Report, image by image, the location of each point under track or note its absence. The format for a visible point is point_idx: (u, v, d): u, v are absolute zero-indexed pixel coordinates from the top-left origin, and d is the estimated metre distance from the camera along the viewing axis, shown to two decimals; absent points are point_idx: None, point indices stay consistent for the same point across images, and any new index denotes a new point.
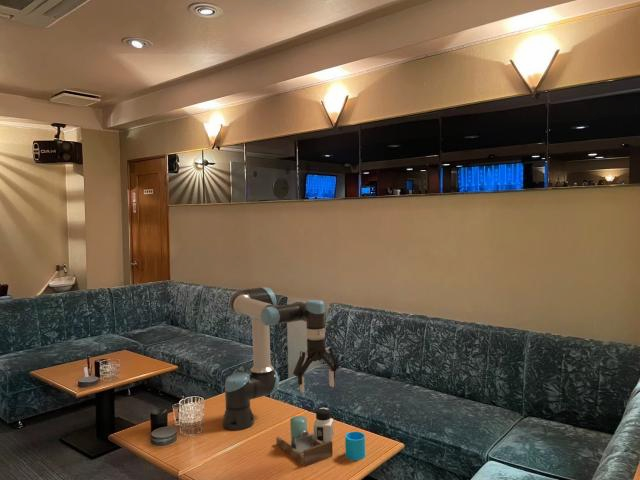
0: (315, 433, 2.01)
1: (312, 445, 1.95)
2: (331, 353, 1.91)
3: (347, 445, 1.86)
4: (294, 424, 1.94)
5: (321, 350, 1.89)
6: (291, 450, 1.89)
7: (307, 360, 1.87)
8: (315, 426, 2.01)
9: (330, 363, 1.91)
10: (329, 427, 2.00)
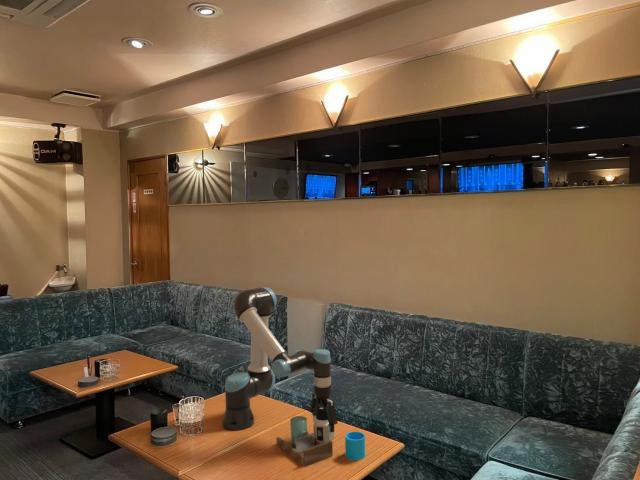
0: (315, 433, 2.01)
1: (312, 445, 1.95)
2: (329, 407, 1.98)
3: (347, 445, 1.86)
4: (294, 424, 1.94)
5: (323, 398, 2.02)
6: (291, 450, 1.89)
7: None
8: (315, 426, 2.01)
9: (327, 415, 1.99)
10: None
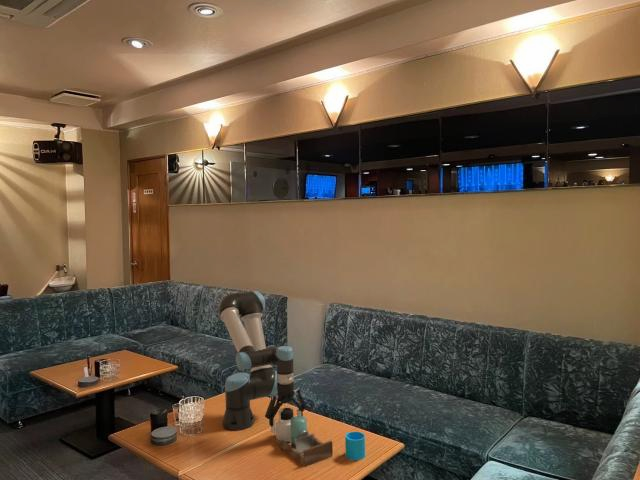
0: None
1: (312, 445, 1.95)
2: (299, 395, 2.08)
3: (347, 445, 1.86)
4: (294, 424, 1.94)
5: (290, 393, 2.05)
6: (291, 450, 1.89)
7: (277, 403, 2.03)
8: None
9: (298, 404, 2.08)
10: None
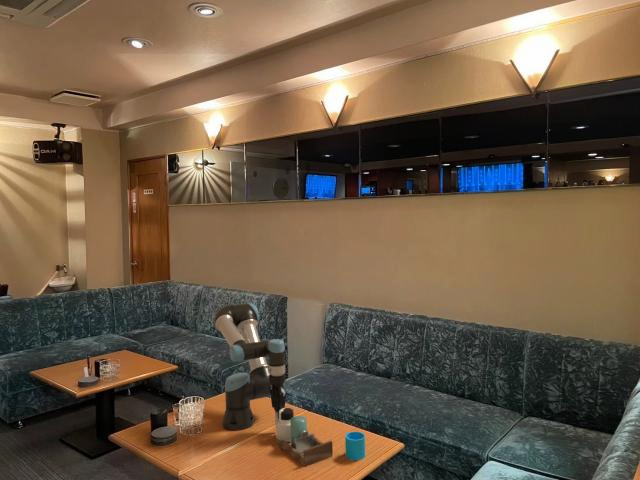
0: None
1: (312, 445, 1.95)
2: (280, 396, 2.07)
3: (347, 445, 1.86)
4: (294, 424, 1.94)
5: (277, 385, 2.09)
6: (291, 450, 1.89)
7: None
8: None
9: (277, 403, 2.09)
10: None
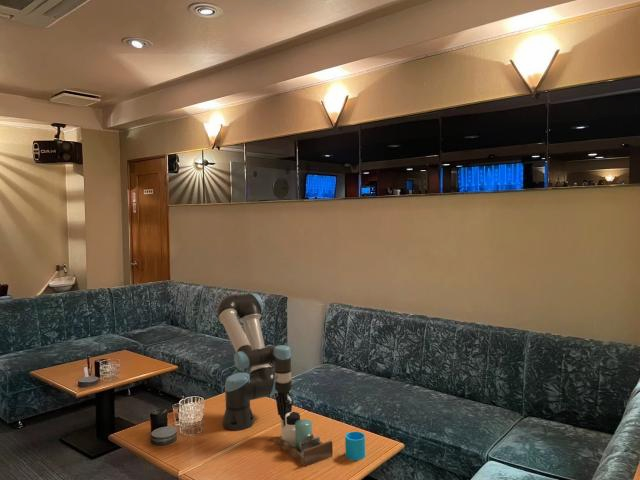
0: None
1: None
2: (286, 404, 2.03)
3: (347, 445, 1.86)
4: (300, 427, 1.90)
5: (284, 392, 2.04)
6: (291, 450, 1.89)
7: None
8: None
9: (283, 411, 2.05)
10: None
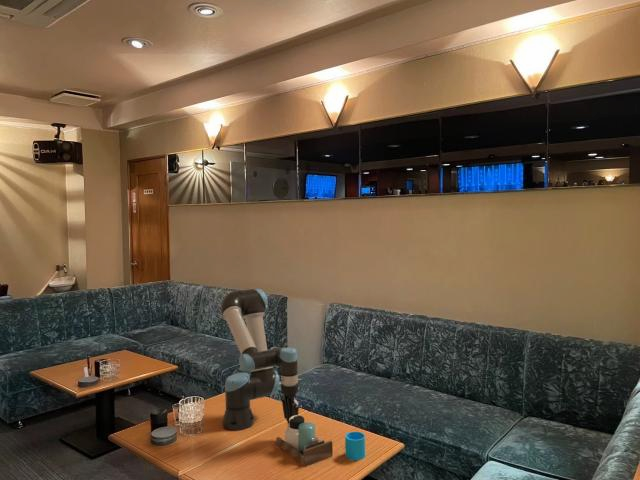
0: None
1: None
2: (293, 407, 1.99)
3: (347, 445, 1.86)
4: (306, 431, 1.86)
5: (290, 396, 2.00)
6: (291, 450, 1.89)
7: None
8: None
9: (290, 414, 2.01)
10: None
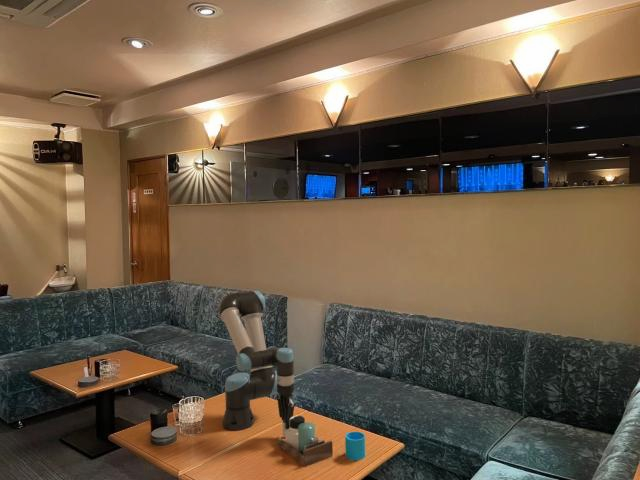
0: None
1: None
2: (288, 407, 2.01)
3: (347, 445, 1.86)
4: (305, 431, 1.87)
5: (286, 395, 2.03)
6: (291, 450, 1.89)
7: None
8: None
9: (285, 413, 2.04)
10: None
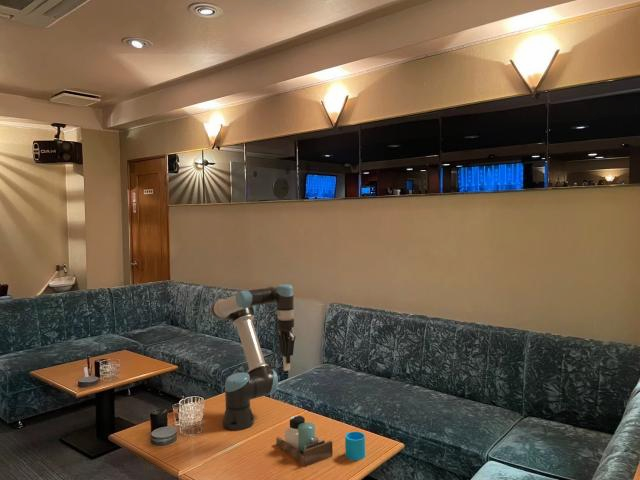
0: None
1: None
2: (289, 340, 2.05)
3: (347, 445, 1.86)
4: (305, 431, 1.87)
5: (286, 329, 2.06)
6: (291, 450, 1.89)
7: None
8: None
9: (285, 348, 2.07)
10: None
